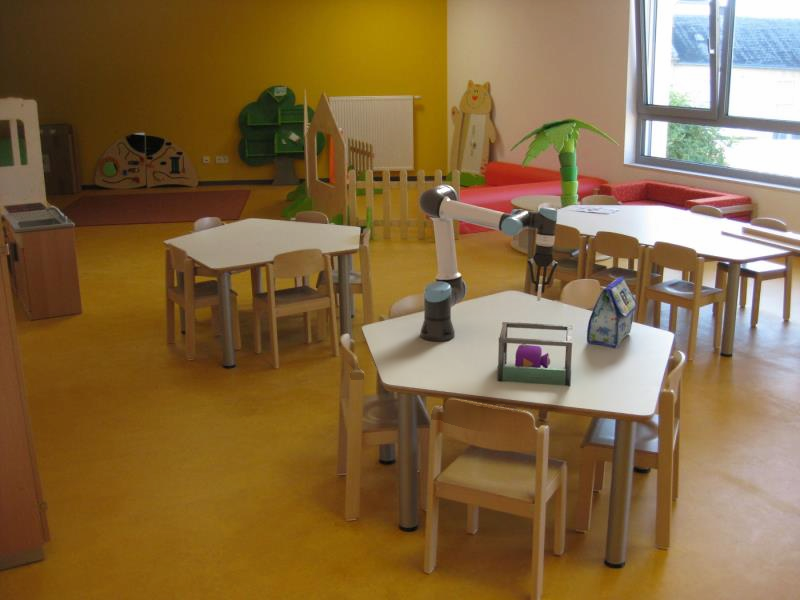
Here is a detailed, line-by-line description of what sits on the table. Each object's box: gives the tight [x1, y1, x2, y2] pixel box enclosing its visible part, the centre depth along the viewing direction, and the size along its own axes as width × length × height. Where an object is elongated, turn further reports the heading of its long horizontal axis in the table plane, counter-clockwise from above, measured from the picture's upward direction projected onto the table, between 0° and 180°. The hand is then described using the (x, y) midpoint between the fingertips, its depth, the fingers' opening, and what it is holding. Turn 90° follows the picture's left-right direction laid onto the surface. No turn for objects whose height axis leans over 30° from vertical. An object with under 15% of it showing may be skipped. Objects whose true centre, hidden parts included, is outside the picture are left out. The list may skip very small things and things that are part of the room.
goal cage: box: [496, 321, 573, 387], centre depth 332 cm, size 28×21×17 cm
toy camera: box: [514, 344, 551, 368], centre depth 336 cm, size 11×14×10 cm
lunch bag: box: [586, 276, 638, 349], centre depth 368 cm, size 22×17×26 cm
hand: (538, 300), depth 362 cm, fingers closed
